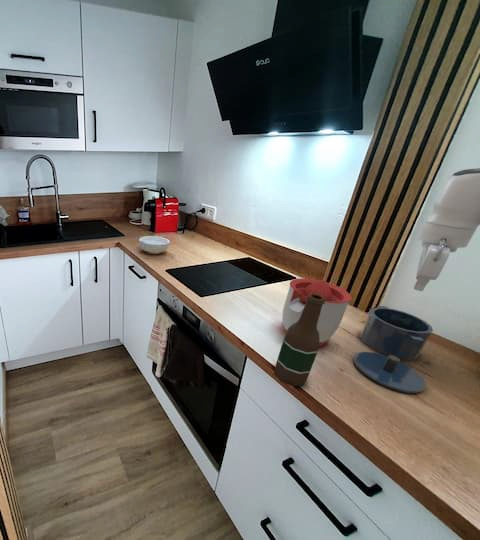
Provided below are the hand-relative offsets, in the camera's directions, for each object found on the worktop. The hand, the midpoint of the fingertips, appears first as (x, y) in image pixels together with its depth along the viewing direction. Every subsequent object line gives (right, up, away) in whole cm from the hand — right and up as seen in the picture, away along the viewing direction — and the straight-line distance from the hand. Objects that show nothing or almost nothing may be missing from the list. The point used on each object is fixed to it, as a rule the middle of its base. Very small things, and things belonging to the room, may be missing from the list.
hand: (418, 284), depth 78 cm
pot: (+2, -19, +11) cm, 22 cm away
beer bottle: (-37, -24, -2) cm, 44 cm away
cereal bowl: (-63, +14, +84) cm, 106 cm away
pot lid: (-9, -24, -1) cm, 25 cm away
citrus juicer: (-23, -18, +14) cm, 32 cm away
